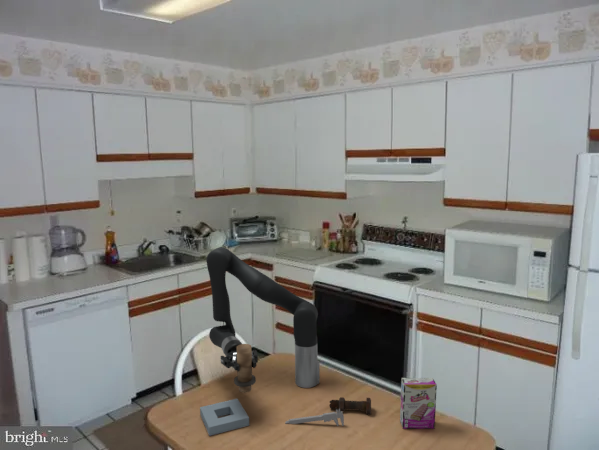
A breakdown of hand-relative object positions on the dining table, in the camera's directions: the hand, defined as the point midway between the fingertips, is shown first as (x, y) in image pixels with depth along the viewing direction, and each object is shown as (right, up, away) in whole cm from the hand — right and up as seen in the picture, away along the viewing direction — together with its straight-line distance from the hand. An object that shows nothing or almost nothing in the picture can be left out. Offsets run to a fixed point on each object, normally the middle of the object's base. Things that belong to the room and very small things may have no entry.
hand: (246, 367), depth 157 cm
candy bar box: (+59, -20, -2) cm, 62 cm away
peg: (-1, -9, +4) cm, 10 cm away
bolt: (+37, -19, +8) cm, 42 cm away
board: (-8, -20, +3) cm, 22 cm away
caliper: (+24, -20, 0) cm, 31 cm away
